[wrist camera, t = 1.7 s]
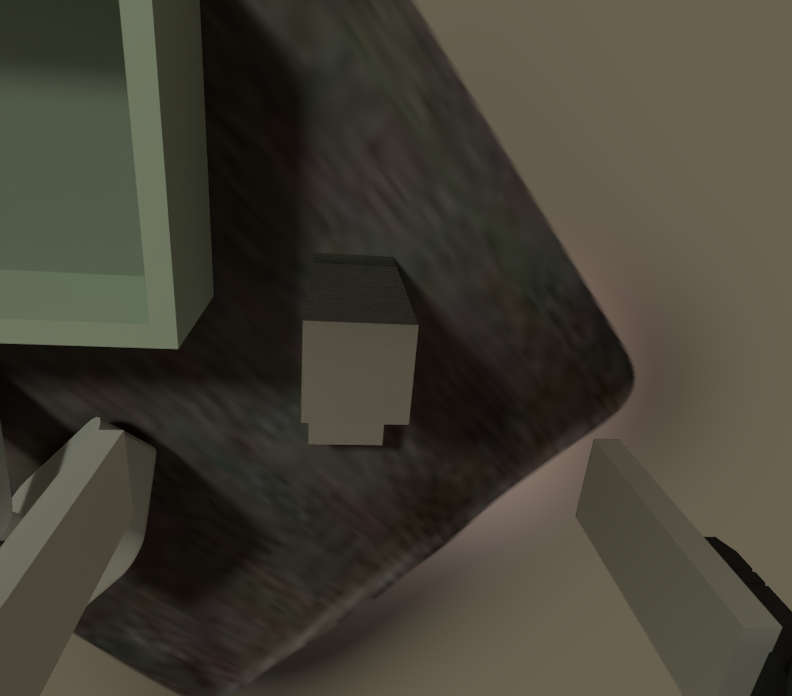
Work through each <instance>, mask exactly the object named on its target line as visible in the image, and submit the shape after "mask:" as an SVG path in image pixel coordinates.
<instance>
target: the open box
mask: <svg viewBox="0 0 792 696" xmlns="http://www.w3.org/2000/svg"><path fill="white" fill-rule="evenodd" d="M213 296H214V290H213V269H212V248H211V227H210V206H209V185H208V164H207V142H206V121H205V100H204V79H203V58H202V37H201V16H200V0H0V343H8V344H38V345H68V346H99V347H129V348H159V349H179V347H180V346H181V344H182V343H183V341H184V340H185V338H186V337H187V335H188V334H189V332H190V331H191V329H192V328H193V326H194V325H195V323H196V322H197V320H198V319H199V317H200V316H201V314H202V313H203V311H204V310H205V308H206V307H207V305H208V304H209V302H210V301H211V299H212V298H213Z"/></svg>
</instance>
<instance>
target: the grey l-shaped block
mask: <svg viewBox="0 0 792 696" xmlns="http://www.w3.org/2000/svg"><path fill="white" fill-rule="evenodd" d="M418 327H419V325H418V322H417V319H416V317H415V314H414V312H413V309H412V306H411V304H410V301H409V298H408V296H407V293H406V290H405V288H404V285H403V282H402V280H401V277H400V275H399V272H398V269H397V267H396V264H395V261H394V259H393V257H385V256H367V255H349V254H330V253H314V256H313V262H312V268H311V274H310V280H309V286H308V292H307V298H306V304H305V310H304V316H303V338H302V403H301V423H309V442H308V444H332V445H382V443H383V430H384V424H391V425H409V418H410V408H411V398H412V388H413V378H414V368H415V357H416V347H417V337H418Z"/></svg>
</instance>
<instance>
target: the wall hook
mask: <svg viewBox="0 0 792 696" xmlns="http://www.w3.org/2000/svg"><path fill="white" fill-rule="evenodd" d="M93 430H122V429H120V428H118V427H116V426H114V425H112V424H111V423H109V422H107V421H105V420H103V419H101V418H99V417H96V418H94V419H92V420H91V421H89V422H88V423H87V424H86V425H85V426H84V427H83V428H82V429H81V430H79V431H78V432H77V433H76V434H75V435H74V436H73V437H72V438H71V439H70V440H69V441H68V442H67V443H66V444H65V445H63V446H62V447H61V448H60V449H59V450H58V451H57V452H56V453H55V454H54V455H53V456H52V457H51V458H50V459H49V460H48V461H46V462H45V463H44V464H43V465H42V466H41V467H40V468H39V469H38V470H37V471H36V472H35V473H34V474H33V475H32V476H30V477H29V478H28V479H27V480H26V481H25V482H24V483H23V484H22V486H21V487H20V488H19V489H18V490H17V492H16V493H15V494H14V496H13V497H12V498H11V491H10V483H9V477H8V470H7V463H6V456H5V449H4V442H3V435H2V429H1V422H0V540H6V539H7V538H8V537H9V536H10V534H11V533H12V532H13V531H14V529H15V528H16V527H17V526H18V524H19V523H20V522H21V521H22V519H23V518H24V517H25V515H26V514H27V513H28V512H29V510H30V509H31V508H32V507H33V505H34V504H35V503H36V502H37V500H38V499H39V498H40V497H41V495H42V494H43V493H44V491H45V490H46V489H47V488H48V486H49V485H50V484H51V483H52V481H53V480H54V479H55V478H56V476H57V475H58V474H59V473H60V471H61V470H62V469H63V467H64V466H65V465H66V464H67V462H68V461H69V460H70V459H71V457H72V456H73V455H74V454H75V452H76V451H77V450H78V449H79V447H80V446H81V445H82V443H83V442H84V441H85V440H86V438H87V437H88V436H89V435H90V433H91V432H92V431H93ZM124 436H125V445H126V453H127V462H128V470H129V479H130V487H131V496H132V504H133V513H134V515H133V517H132V519H131V521H130V523H129V525H128V527H127V529H126V531H125V533H124V535H123V537H122V538H121V540H120V542H119V544H118V546H117V548H116V550H115V552H114V554H113V556H112V558H111V560H110V562H109V563H108V565H107V567H106V569H105V571H104V573H103V575H102V577H101V579H100V581H99V583H98V585H97V587H96V588H95V590H94V592H93V594H92V596H91V598H90V600H89V602H88V604H89V603H90V602H91V601H93V600H94V599H95V598H96V597H97V596H99V595H100V594H101V593H102V592H103V591H104V590H106V589H107V588H108V587H109V586H110V585H111V584H113V583H114V582H115V581H116V580H117V579H119V578H120V577H121V576H122V575H123V574H124V573H125V572H126V571H127V570H128V568H129V567H130V566H131V564H132V563H133V561H134V560H135V558H136V556H137V555H138V553H139V550H140V548H141V546H142V543H143V540H144V537H145V531H146V524H147V517H148V510H149V504H150V496H151V489H152V482H153V475H154V468H155V461H156V449H155V448H154V447H153V446H151V445H150V444H148V443H146V442H144V441H142V440H140V439H138V438H137V437H135V436H133V435H131V434H129V433H127V432H125V431H124ZM88 604H87V605H88Z"/></svg>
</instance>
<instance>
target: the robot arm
mask: <svg viewBox="0 0 792 696" xmlns="http://www.w3.org/2000/svg"><path fill="white" fill-rule="evenodd" d="M133 515H134V513H133V504H132V496H131V487H130V479H129V470H128V462H127V453H126V445H125V436H124V430H93V431H92V432H91V433H90V435H89V436H88V437H87V438H86V440H85V441H84V442H83V443H82V445H81V446H80V447H79V449H78V450H77V451H76V452H75V454H74V455H73V456H72V457H71V459H70V460H69V461H68V462H67V464H66V465H65V466H64V467H63V469H62V470H61V471H60V473H59V474H58V475H57V476H56V478H55V479H54V480H53V481H52V483H51V484H50V485H49V486H48V488H47V489H46V490H45V491H44V493H43V494H42V495H41V497H40V498H39V499H38V500H37V502H36V503H35V504H34V505H33V507H32V508H31V509H30V510H29V512H28V513H27V514H26V515H25V517H24V518H23V519H22V521H21V522H20V523H19V524H18V526H17V527H16V528H15V529H14V531H13V532H12V533H11V534H10V536H9V537H8V538H7V539H6V540H0V696H40V694H41V692H42V691H43V689H44V687H45V685H46V683H47V681H48V679H49V677H50V675H51V673H52V671H53V669H54V667H55V665H56V664H57V662H58V660H59V658H60V656H61V654H62V652H63V650H64V648H65V646H66V644H67V642H68V640H69V638H70V637H71V635H72V633H73V631H74V629H75V627H76V625H77V623H78V621H79V619H80V617H81V615H82V614H83V612H84V610H85V608H86V606H87V604H88V602H89V600H90V598H91V596H92V594H93V592H94V590H95V588H96V587H97V585H98V583H99V581H100V579H101V577H102V575H103V573H104V571H105V569H106V567H107V565H108V563H109V562H110V560H111V558H112V556H113V554H114V552H115V550H116V548H117V546H118V544H119V542H120V540H121V538H122V537H123V535H124V533H125V531H126V529H127V527H128V525H129V523H130V521H131V519H132V517H133ZM576 517H577V519H578V521H579V522H580V524H581V526H582V527H583V529H584V531H585V532H586V534H587V536H588V538H589V539H590V541H591V543H592V544H593V546H594V548H595V549H596V551H597V553H598V554H599V556H600V558H601V559H602V561H603V563H604V564H605V566H606V568H607V569H608V571H609V573H610V575H611V576H612V578H613V579H614V581H615V583H616V585H617V586H618V588H619V590H620V591H621V593H622V595H623V596H624V598H625V600H626V601H627V603H628V605H629V606H630V608H631V610H632V611H633V613H634V615H635V616H636V618H637V620H638V621H639V623H640V625H641V626H642V628H643V630H644V632H645V633H646V635H647V637H648V638H649V640H650V642H651V643H652V645H653V647H654V648H655V650H656V652H657V653H658V655H659V657H660V658H661V660H662V662H663V663H664V665H665V667H666V668H667V670H668V672H669V674H670V675H671V677H672V678H673V680H674V682H675V683H676V685H677V687H678V689H679V690H680V692H681V693H682V695H683V696H792V611H791V610H790V609H789V608H788V607H787V606H786V605H785V604H784V603H783V602H782V601H781V600H780V598H779V597H778V596H777V595H776V594H775V593H774V592H773V591H772V590H771V589H770V588H769V587H768V586H765V582H764V581H763V580H762V579H761V578H760V577H759V576H758V574H757V573H756V572H753V571H752V568H751V567H750V566H749V565H748V564H747V563H746V561H745V560H744V559H743V558H742V557H741V556H740V555H739V554H738V553H737V552H736V551H735V550H733V549H732V548H730V547H729V546H728V545H726V544H725V543H723V542H722V541H720V540H719V539H717V538H716V537H703V536H702V535H701V533H700V532H699V531H698V530H697V529H696V528H695V526H694V525H693V524H692V523H691V522H690V521H689V520H688V518H687V517H686V516H685V515H684V514H683V513H682V512H681V510H680V509H679V508H678V507H677V506H676V505H675V503H674V502H673V501H672V500H671V499H670V498H669V497H668V496H667V494H666V493H665V492H664V491H663V490H662V489H661V487H660V486H659V485H658V484H657V483H656V482H655V481H654V480H653V478H652V477H651V476H650V475H649V474H648V473H647V471H646V470H645V469H644V468H643V467H642V466H641V465H640V463H638V461H637V460H636V459H635V458H634V457H633V456H632V454H631V453H630V452H629V451H628V450H627V449H626V447H625V446H624V445H623V444H622V443H621V442H620V440H618V439H594V440H593V444H592V449H591V453H590V457H589V462H588V465H587V470H586V474H585V478H584V482H583V487H582V491H581V495H580V499H579V503H578V507H577V512H576Z"/></svg>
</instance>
